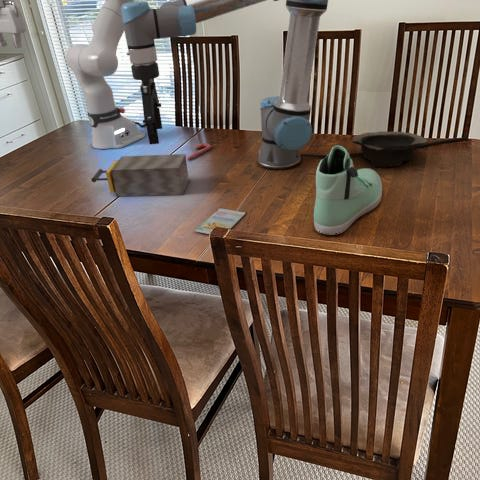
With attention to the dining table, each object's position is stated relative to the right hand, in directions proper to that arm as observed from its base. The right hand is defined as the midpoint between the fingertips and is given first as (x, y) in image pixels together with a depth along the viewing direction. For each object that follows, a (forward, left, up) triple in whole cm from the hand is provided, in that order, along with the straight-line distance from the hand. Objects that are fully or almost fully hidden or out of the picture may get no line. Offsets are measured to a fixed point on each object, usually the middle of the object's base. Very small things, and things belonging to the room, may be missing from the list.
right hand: (156, 136), depth 146 cm
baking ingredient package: (-10, +26, -20) cm, 35 cm away
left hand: (+36, -44, +24) cm, 62 cm away
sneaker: (-46, +35, -20) cm, 62 cm away
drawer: (+8, -9, -19) cm, 22 cm away
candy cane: (-19, -30, -20) cm, 40 cm away
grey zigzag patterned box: (+3, -7, -20) cm, 21 cm away
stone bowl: (-77, +9, -20) cm, 80 cm away
